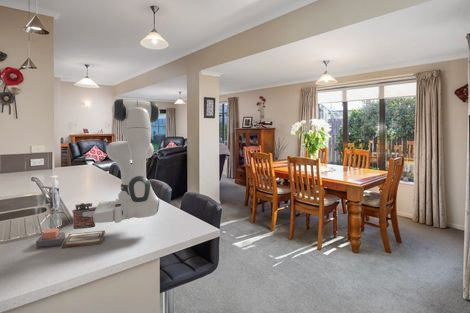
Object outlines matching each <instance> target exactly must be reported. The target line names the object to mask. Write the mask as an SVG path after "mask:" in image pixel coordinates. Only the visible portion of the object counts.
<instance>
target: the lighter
mask: <svg viewBox="0 0 470 313" xmlns="http://www.w3.org/2000/svg"><path fill="white" fill-rule="evenodd" d="M91 207H93V203H90V202H88V203H87V202H86V203H84V202H82V203H80V204H79V203H78V204H75V209H73V210H72V217H73V230H82V229H91V228H95V227H96V222H94V221H93V217H89V216H85V217H83V212H84V211H94V208H91Z"/></svg>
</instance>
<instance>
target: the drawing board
mask: <svg viewBox="0 0 470 313" xmlns="http://www.w3.org/2000/svg"><path fill="white" fill-rule="evenodd" d="M105 233H106V230H98V231H87V232H76V233H69V234H68V235H67V236H66V237H65V240H64V241H63V243H62V244H61V249H70V248H77V247H78V248H79V247H87V246H95V245H102V244H103V241H104V236H105V235H106V234H105Z"/></svg>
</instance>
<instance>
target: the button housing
mask: <svg viewBox="0 0 470 313" xmlns="http://www.w3.org/2000/svg"><path fill="white" fill-rule="evenodd" d="M65 240H66V232H65V231H62V232H61V231H59V236H58V237H57V238H53V239H43V233H41V235H40V236H39V237H38V239H37V240H36V241H35V248H36V250H38V249H39V250H41V249H48V248H58V247H62V244H63V243H64V241H65Z"/></svg>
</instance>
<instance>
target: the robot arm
mask: <svg viewBox="0 0 470 313" xmlns="http://www.w3.org/2000/svg"><path fill="white" fill-rule="evenodd" d="M111 113H112V115H113V118H114V120H116V121H120V122H122V123H121V135H122V136H123V138H124V139H125V140H118V141H117V140H116V141H113V142H109V143H108V145H107V146H106V155H107V157H108V158H109V160H111V161H113V162H114V163H115V164H116V165H117V166H118V168H119V171H120V177H121V184H120V190H121V191H120V192H119V193H118V196H117V197H118V198H116V199H115V200H104V201H103V200H102V201H100V202H98V204H97V205H96V206H92V207H90V208H94V211H84V212H83V217H85V216H89V217H93V221H94V222H95V224H96V223H97V224H99V223H112V222H114V223H115V224H117V223H121V222H122V221H125V220H129V219H133V218H134V219H135V218H137V219H141V218H143V219H144V218H149V217H152V216H153V217H154V216H156V215H157V213H158V212H159V207H160V198H159V197H158V196H157V195H156V193H155V191H154V190H153V187H152V184H151V182H150V180H149V179H148V178H147V159H149V158H152V156H153V154H154V151H155V150H154V149H155V148H154V145H153V144H152V142H151V140H152V123H156V122H157V121H158V119H159V117H160V114H161V113H160V107H159V105H158V103H156V102H154V101H148V100H147V101H146V100H143V99H123V98H119V99H115V101H114V102H113V104H112V107H111ZM131 161H132V162H131Z"/></svg>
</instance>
